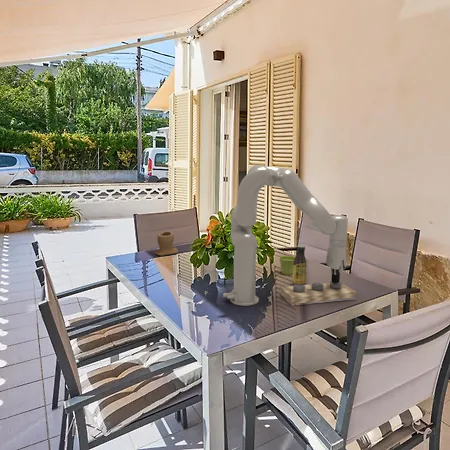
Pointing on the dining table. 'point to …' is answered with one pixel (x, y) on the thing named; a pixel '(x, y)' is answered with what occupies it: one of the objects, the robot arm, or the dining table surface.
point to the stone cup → (166, 243)
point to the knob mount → (316, 294)
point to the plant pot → (286, 264)
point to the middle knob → (317, 286)
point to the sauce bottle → (299, 267)
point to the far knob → (335, 285)
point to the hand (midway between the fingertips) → (335, 282)
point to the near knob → (298, 288)
